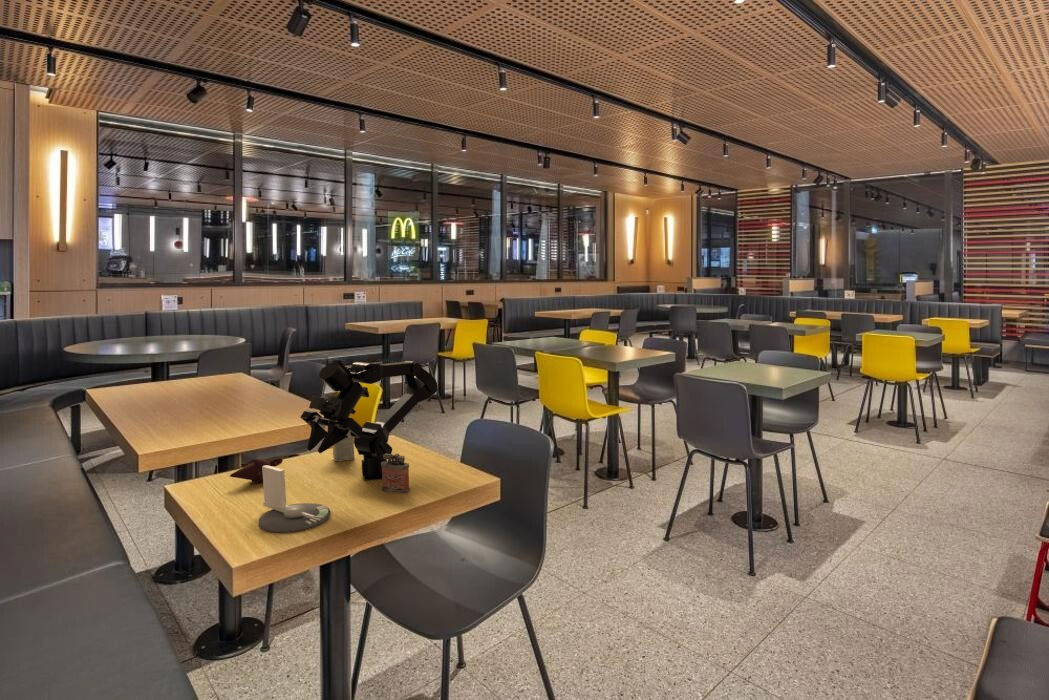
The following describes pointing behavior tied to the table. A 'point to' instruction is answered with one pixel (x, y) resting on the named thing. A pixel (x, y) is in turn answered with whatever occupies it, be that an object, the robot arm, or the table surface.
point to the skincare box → (344, 449)
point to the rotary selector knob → (279, 494)
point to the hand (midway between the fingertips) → (313, 451)
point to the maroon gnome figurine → (255, 469)
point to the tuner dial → (294, 519)
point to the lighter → (395, 474)
